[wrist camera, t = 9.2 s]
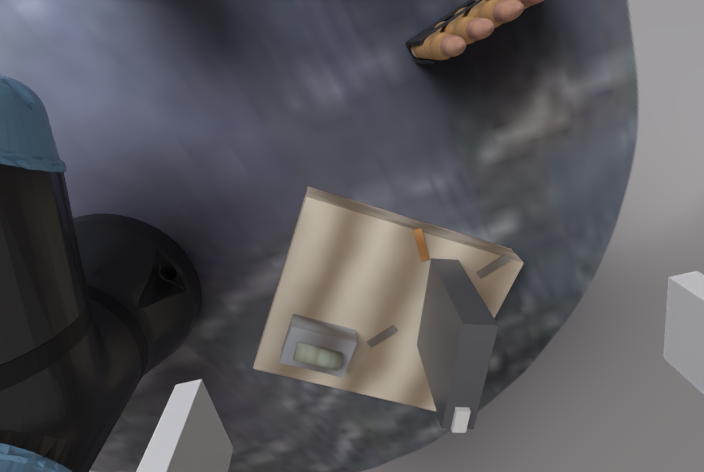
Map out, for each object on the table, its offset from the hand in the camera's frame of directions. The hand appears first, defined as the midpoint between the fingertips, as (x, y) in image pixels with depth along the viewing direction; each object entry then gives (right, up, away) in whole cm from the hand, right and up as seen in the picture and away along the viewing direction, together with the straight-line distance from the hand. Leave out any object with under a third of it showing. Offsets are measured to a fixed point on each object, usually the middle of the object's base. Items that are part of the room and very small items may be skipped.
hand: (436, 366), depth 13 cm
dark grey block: (+5, -2, +28) cm, 29 cm away
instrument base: (0, -3, +31) cm, 31 cm away
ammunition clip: (+7, +21, +22) cm, 31 cm away
